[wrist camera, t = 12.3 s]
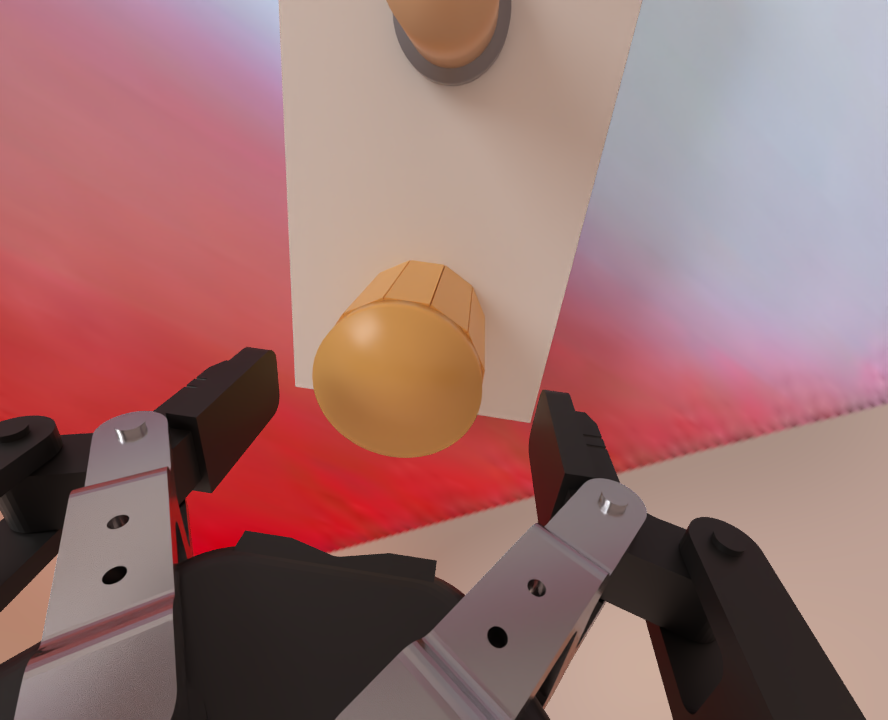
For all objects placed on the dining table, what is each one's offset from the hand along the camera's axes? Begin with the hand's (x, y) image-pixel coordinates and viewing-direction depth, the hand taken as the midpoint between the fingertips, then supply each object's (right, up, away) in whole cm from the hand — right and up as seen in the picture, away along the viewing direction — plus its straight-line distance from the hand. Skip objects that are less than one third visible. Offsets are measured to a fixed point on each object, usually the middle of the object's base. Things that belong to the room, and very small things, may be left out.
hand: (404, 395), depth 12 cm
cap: (0, +3, +6) cm, 7 cm away
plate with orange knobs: (+1, +9, +7) cm, 11 cm away
